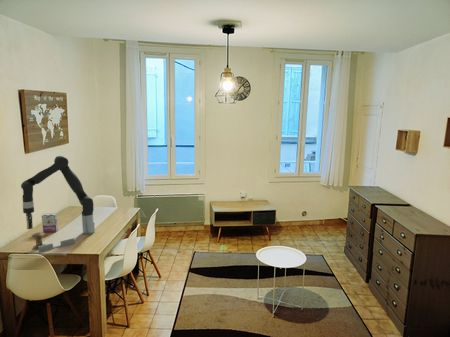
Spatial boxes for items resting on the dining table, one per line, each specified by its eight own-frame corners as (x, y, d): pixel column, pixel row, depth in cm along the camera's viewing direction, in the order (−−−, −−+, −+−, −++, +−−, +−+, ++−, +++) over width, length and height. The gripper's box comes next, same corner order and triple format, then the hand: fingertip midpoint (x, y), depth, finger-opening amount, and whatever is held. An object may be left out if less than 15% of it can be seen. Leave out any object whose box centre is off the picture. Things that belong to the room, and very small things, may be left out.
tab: (32, 227, 263) (31, 217, 261) (33, 228, 259) (32, 219, 258) (26, 228, 260) (25, 218, 259) (27, 229, 257) (26, 220, 256)
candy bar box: (58, 230, 296) (56, 213, 293) (56, 232, 292) (54, 214, 289) (45, 230, 295) (43, 213, 292) (43, 232, 290) (41, 215, 287)
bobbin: (44, 244, 266) (43, 231, 264) (47, 247, 259) (45, 234, 257) (32, 246, 260) (30, 234, 258) (34, 250, 253) (33, 237, 251)
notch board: (73, 242, 270) (73, 238, 269) (74, 243, 268) (74, 239, 267) (38, 251, 253) (38, 246, 252) (39, 251, 252) (38, 247, 251)
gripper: (35, 208, 254) (36, 228, 256) (32, 203, 264) (33, 223, 267) (24, 209, 249) (25, 230, 252) (21, 205, 260) (23, 225, 263)
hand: (29, 227), depth 260 cm, fingers closed on tab, 4 cm apart
